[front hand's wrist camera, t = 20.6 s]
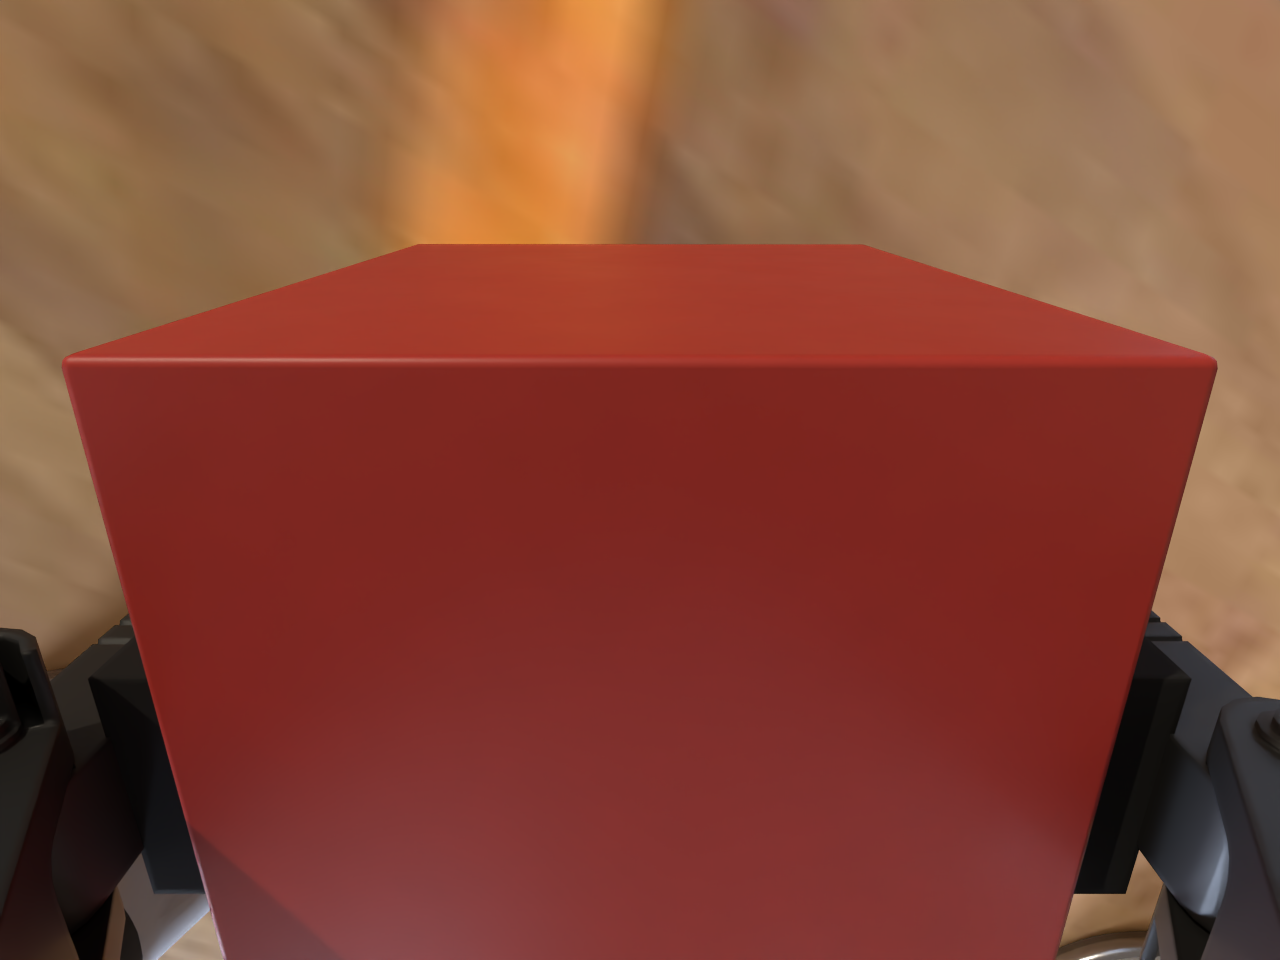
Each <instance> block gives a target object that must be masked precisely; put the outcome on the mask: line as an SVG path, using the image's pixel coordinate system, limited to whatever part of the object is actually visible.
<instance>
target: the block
mask: <svg viewBox="0 0 1280 960" xmlns="http://www.w3.org/2000/svg"><path fill="white" fill-rule="evenodd" d="M1217 369H1218V368H1217V361H1216V360H1215V359H1214V358H1213V357H1211V356H1208V355H1206V354H1203V353H1200V352H1197V351H1194V350H1191V349H1188V348H1184V347H1181V346H1178V345H1175V344H1172V343H1169V342H1166V341H1163V340H1159V339H1156V338H1153V337H1150V336H1147V335H1144V334H1141V333H1138V332H1134V331H1131V330H1128V329H1125V328H1122V327H1119V326H1116V325H1113V324H1109V323H1106V322H1103V321H1100V320H1097V319H1094V318H1091V317H1088V316H1084V315H1081V314H1078V313H1075V312H1072V311H1069V310H1066V309H1063V308H1059V307H1056V306H1053V305H1050V304H1047V303H1044V302H1041V301H1038V300H1034V299H1031V298H1028V297H1025V296H1022V295H1019V294H1016V293H1013V292H1009V291H1006V290H1003V289H1000V288H997V287H994V286H991V285H988V284H984V283H981V282H978V281H975V280H972V279H969V278H966V277H963V276H959V275H956V274H953V273H950V272H947V271H944V270H941V269H938V268H934V267H931V266H928V265H925V264H922V263H919V262H916V261H913V260H909V259H906V258H903V257H900V256H897V255H894V254H891V253H888V252H884V251H881V250H878V249H875V248H872V247H869V246H866V245H689V244H418V245H414V246H411V247H408V248H405V249H402V250H399V251H396V252H392V253H389V254H386V255H383V256H380V257H377V258H373V259H370V260H367V261H364V262H361V263H358V264H354V265H351V266H348V267H345V268H342V269H339V270H336V271H332V272H329V273H326V274H323V275H320V276H317V277H313V278H310V279H307V280H304V281H301V282H298V283H295V284H291V285H288V286H285V287H282V288H279V289H276V290H272V291H269V292H266V293H263V294H260V295H257V296H253V297H250V298H247V299H244V300H241V301H238V302H235V303H231V304H228V305H225V306H222V307H219V308H216V309H212V310H209V311H206V312H203V313H200V314H197V315H194V316H190V317H187V318H184V319H181V320H178V321H175V322H171V323H168V324H165V325H162V326H159V327H156V328H152V329H149V330H146V331H143V332H140V333H137V334H134V335H130V336H127V337H124V338H121V339H118V340H115V341H111V342H108V343H105V344H102V345H99V346H96V347H93V348H89V349H86V350H83V351H80V352H77V353H74V354H71V355H69V356H67V357H65V358H64V359H63V362H62V370H63V374H64V378H65V381H66V385H67V389H68V392H69V396H70V400H71V403H72V407H73V410H74V414H75V418H76V421H77V425H78V429H79V432H80V436H81V440H82V443H83V447H84V451H85V454H86V458H87V462H88V465H89V469H90V473H91V476H92V480H93V484H94V487H95V491H96V495H97V498H98V502H99V506H100V509H101V513H102V517H103V520H104V524H105V527H106V531H107V535H108V538H109V542H110V546H111V549H112V553H113V557H114V560H115V564H116V568H117V571H118V575H119V579H120V582H121V586H122V590H123V593H124V597H125V601H126V604H127V608H128V612H129V615H130V619H131V623H132V626H133V630H134V634H135V637H136V641H137V645H138V648H139V652H140V655H141V659H142V663H143V666H144V670H145V674H146V677H147V681H148V685H149V688H150V692H151V696H152V699H153V703H154V707H155V710H156V714H157V718H158V721H159V725H160V729H161V732H162V736H163V740H164V743H165V747H166V751H167V754H168V758H169V762H170V765H171V769H172V772H173V776H174V780H175V783H176V787H177V791H178V794H179V798H180V802H181V805H182V809H183V813H184V816H185V820H186V824H187V827H188V831H189V835H190V838H191V842H192V846H193V849H194V853H195V857H196V860H197V864H198V868H199V871H200V875H201V879H202V882H203V886H204V890H205V893H206V897H207V900H208V904H209V908H210V911H211V915H212V919H213V922H214V926H215V930H216V933H217V937H218V941H219V944H220V948H221V952H222V955H223V959H224V960H1056V956H1057V952H1058V949H1059V945H1060V941H1061V938H1062V934H1063V931H1064V927H1065V923H1066V920H1067V916H1068V912H1069V909H1070V905H1071V901H1072V898H1073V894H1074V890H1075V887H1076V883H1077V879H1078V876H1079V872H1080V869H1081V865H1082V861H1083V858H1084V854H1085V850H1086V847H1087V843H1088V839H1089V836H1090V832H1091V828H1092V825H1093V821H1094V817H1095V814H1096V810H1097V807H1098V803H1099V799H1100V796H1101V792H1102V788H1103V785H1104V781H1105V777H1106V774H1107V770H1108V766H1109V763H1110V759H1111V755H1112V752H1113V748H1114V745H1115V741H1116V737H1117V734H1118V730H1119V726H1120V723H1121V719H1122V715H1123V712H1124V708H1125V704H1126V701H1127V697H1128V693H1129V690H1130V686H1131V683H1132V679H1133V675H1134V672H1135V668H1136V664H1137V661H1138V657H1139V653H1140V650H1141V646H1142V642H1143V639H1144V635H1145V631H1146V628H1147V624H1148V620H1149V617H1150V613H1151V610H1152V606H1153V602H1154V599H1155V595H1156V591H1157V588H1158V584H1159V580H1160V577H1161V573H1162V569H1163V566H1164V562H1165V558H1166V555H1167V551H1168V548H1169V544H1170V540H1171V537H1172V533H1173V529H1174V526H1175V522H1176V518H1177V515H1178V511H1179V507H1180V504H1181V500H1182V496H1183V493H1184V489H1185V486H1186V482H1187V478H1188V475H1189V471H1190V467H1191V464H1192V460H1193V456H1194V453H1195V449H1196V445H1197V442H1198V438H1199V434H1200V431H1201V427H1202V424H1203V420H1204V416H1205V413H1206V409H1207V405H1208V402H1209V398H1210V394H1211V391H1212V387H1213V383H1214V380H1215V376H1216V372H1217Z"/></svg>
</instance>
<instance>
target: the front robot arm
mask: <svg viewBox="0 0 1280 960" xmlns="http://www.w3.org/2000/svg"><path fill="white" fill-rule="evenodd" d="M1139 850H1140V851H1141V853H1142V854H1143V855H1144V857H1145V858H1146V859H1147V861H1148V862H1149V863H1150V865H1151V866H1152V867H1153V869H1154V870H1155V872H1156V873H1157V874H1158V876H1159V877H1160V878H1161V880H1162V881H1163V882H1164V883H1163V886H1162V889H1161V892H1160V895H1159V898H1158V901H1157V904H1156V907H1155V910H1154V913H1153V916H1152V919H1151V923H1150V926H1149V929H1148V931H1133V932H1119V933H1111V934H1105V935H1100V936H1095V937H1091V938H1087V939H1083V940H1080V941H1077V942H1074V943H1071V944H1068V945H1066V946H1063V947H1061V948H1059V949H1058V952H1057V956H1056V960H1280V700H1277V699H1269V698H1262V697H1252V696H1251V695H1250V694H1249V693H1247V692H1246V691H1245V690H1244V689H1243V688H1242V687H1240V686H1239V685H1238V684H1237V683H1236V682H1235V681H1233V680H1232V679H1231V678H1230V677H1229V676H1228V675H1226V674H1225V673H1224V672H1223V671H1222V670H1221V669H1219V668H1218V667H1217V666H1216V665H1215V664H1214V663H1212V662H1211V661H1210V660H1209V659H1208V658H1207V657H1205V656H1204V655H1203V654H1202V653H1201V652H1200V651H1198V650H1197V649H1196V648H1195V647H1194V646H1192V645H1191V644H1190V643H1189V642H1188V641H1182V636H1181V635H1180V634H1178V633H1177V632H1176V631H1175V630H1174V629H1173V628H1171V627H1170V626H1169V625H1168V624H1167V623H1166V622H1161V621H1160V617H1159V616H1157V615H1156V614H1155V613H1154V612H1153V611H1152V610H1151V613H1150V617H1149V620H1148V624H1147V628H1146V631H1145V635H1144V639H1143V642H1142V646H1141V650H1140V653H1139V657H1138V661H1137V664H1136V668H1135V672H1134V675H1133V679H1132V683H1131V686H1130V690H1129V693H1128V697H1127V701H1126V704H1125V708H1124V712H1123V715H1122V719H1121V723H1120V726H1119V730H1118V734H1117V737H1116V741H1115V745H1114V748H1113V752H1112V755H1111V759H1110V763H1109V766H1108V770H1107V774H1106V777H1105V781H1104V785H1103V788H1102V792H1101V796H1100V799H1099V803H1098V807H1097V810H1096V814H1095V817H1094V821H1093V825H1092V828H1091V832H1090V836H1089V839H1088V843H1087V847H1086V850H1085V854H1084V858H1083V861H1082V865H1081V869H1080V872H1079V876H1078V879H1077V883H1076V887H1075V890H1074V894H1126V891H1127V887H1128V884H1129V881H1130V878H1131V874H1132V871H1133V868H1134V865H1135V861H1136V858H1137V855H1138V852H1139ZM140 853H141V854H142V857H143V860H144V863H145V867H146V870H147V873H148V876H149V880H150V883H151V886H152V889H153V893H154V894H206V893H205V890H204V886H203V882H202V879H201V875H200V871H199V868H198V864H197V860H196V857H195V853H194V849H193V846H192V842H191V838H190V835H189V831H188V827H187V824H186V820H185V816H184V813H183V809H182V805H181V802H180V798H179V794H178V791H177V787H176V783H175V780H174V776H173V772H172V769H171V765H170V762H169V758H168V754H167V751H166V747H165V743H164V740H163V736H162V732H161V729H160V725H159V721H158V718H157V714H156V710H155V707H154V703H153V699H152V696H151V692H150V688H149V685H148V681H147V677H146V674H145V670H144V666H143V663H142V659H141V655H140V652H139V648H138V645H137V641H136V637H135V634H134V630H133V626H132V623H131V619H130V615H129V614H127V615H126V616H125V617H124V618H123V619H122V620H120V625H115V626H113V627H112V628H111V629H110V630H109V631H108V632H107V633H105V634H104V635H103V636H102V637H101V638H100V639H98V644H93V645H91V646H90V647H89V648H88V649H87V650H86V651H84V652H83V653H82V654H81V655H80V656H79V657H78V658H76V659H75V660H74V661H73V662H72V663H71V664H69V665H68V666H67V667H66V668H65V669H64V670H62V671H61V672H60V673H59V674H58V675H57V676H56V677H54V678H53V679H52V680H51V681H50V680H49V677H48V674H47V671H46V667H45V664H44V661H43V658H42V655H41V652H40V649H39V646H38V643H37V640H36V637H35V636H33V635H31V634H29V633H27V632H25V631H24V630H20V629H8V628H0V960H120V955H121V948H122V941H123V933H124V926H125V919H126V918H125V912H124V906H123V901H122V898H121V895H120V892H119V889H118V886H117V885H118V883H119V882H120V881H121V879H122V878H123V877H124V875H125V874H126V873H127V871H128V870H129V868H130V867H131V866H132V864H133V863H134V862H135V860H136V859H137V858H138V856H139V855H140Z"/></svg>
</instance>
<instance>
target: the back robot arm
mask: <svg viewBox="0 0 1280 960" xmlns="http://www.w3.org/2000/svg"><path fill="white" fill-rule="evenodd" d="M62 670H64V669H58V670H52V671H47V674H48V677H49V680H50V681H51V680H52V679H53V678H54V677H56V676H57V675H58V674H59V673H60V672H61V671H62ZM117 886H118V889H119V892H120V895H121V898H122V901H123V906H124V912H125V918H126V919H125V926H124V933H123V941H122V948H121V955H120V960H157V959H158V958H159V957H160V956H161V955H163V954H164V953H165V952H166V951H167V950H168V949H169V948H170V947H171V946H172V945H173V944H174V943H175V942H176V941H177V940H179V939H180V938H181V937H182V936H183V935H184V934H185V933H186V932H187V931H188V930H189V929H190V928H191V927H192V926H193V925H194V924H196V923H197V922H198V921H199V920H200V919H201V918H202V917H203V916H204V915H205V914H206V913H207V912H208V911H209V910H210V908H209V904H208V900H207V897H206V894H154V893H153V889H152V886H151V883H150V880H149V876H148V873H147V870H146V867H145V863H144V860H143V857H142V854H141V853H140V855H139V856H138V858H137V859H136V860H135V862H134V863H133V864H132V866H131V867H130V868H129V870H128V871H127V873H126V874H125V875H124V877H123V878H122V879H121V881H120V882H119V883H118V885H117Z"/></svg>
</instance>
